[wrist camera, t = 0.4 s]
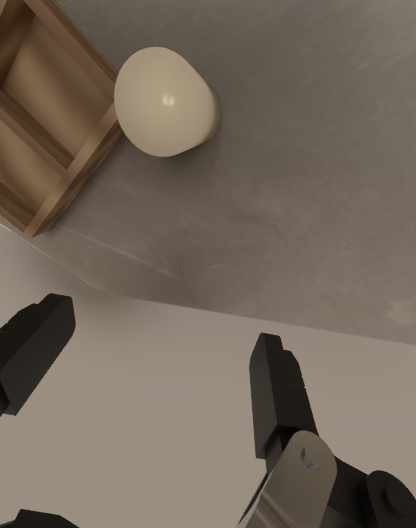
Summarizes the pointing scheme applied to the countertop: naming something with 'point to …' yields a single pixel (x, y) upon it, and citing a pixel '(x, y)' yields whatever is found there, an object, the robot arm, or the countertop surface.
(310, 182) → the countertop surface
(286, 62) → the countertop surface
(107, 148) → the wooden divided tray
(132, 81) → the cream pillar candle
